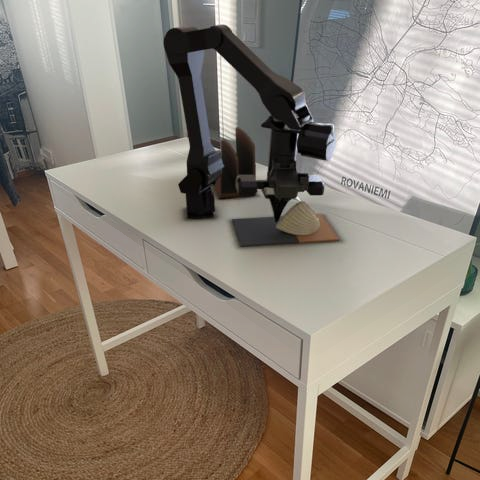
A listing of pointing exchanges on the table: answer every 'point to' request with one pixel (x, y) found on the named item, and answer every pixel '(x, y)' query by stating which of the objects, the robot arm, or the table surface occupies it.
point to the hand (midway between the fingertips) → (276, 221)
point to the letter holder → (235, 164)
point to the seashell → (299, 220)
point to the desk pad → (277, 232)
